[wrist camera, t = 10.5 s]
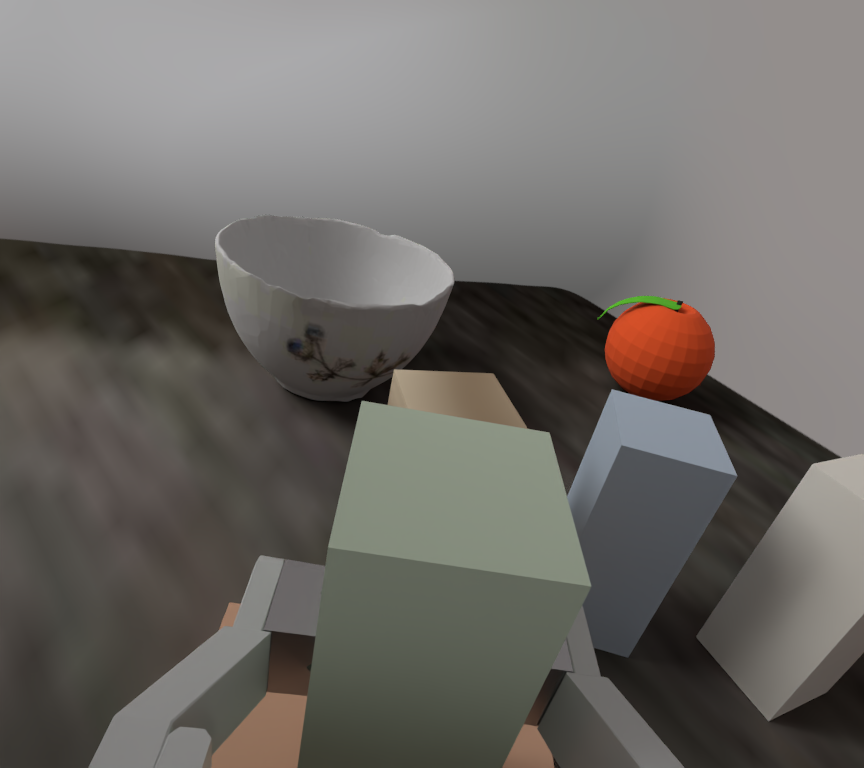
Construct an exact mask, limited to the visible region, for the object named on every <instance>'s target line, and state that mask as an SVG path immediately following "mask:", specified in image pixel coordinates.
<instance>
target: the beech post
mask: <svg viewBox="0 0 864 768" xmlns="http://www.w3.org/2000/svg"><path fill="white" fill-rule="evenodd" d="M388 405H390V406H396V407H402V408H408V409H414V410H419V411H425V412H431V413H437V414H443V415H449V416H455V417H461V418H466V419H472V420H478V421H484V422H490V423H496V424H502V425H508V426H513V427H519V428H525V429H528V428H527V427H526V425H525V424H524V422H523V420H522V419H521V417H520V415H519V414H518V412H517V411H516V409H515V407H514V406H513V404H512V403H511V401H510V399H509V398H508V396H507V395H506V393H505V391H504V390H503V388H502V387H501V385H500V383H499V382H498V380H497V379H496V377H495V375H494V374H493V373H469V372H445V371H421V370H397V369H394V372H393V378H392V383H391V389H390V394H389V400H388Z"/></svg>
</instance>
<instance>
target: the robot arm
mask: <svg viewBox="0 0 864 768" xmlns="http://www.w3.org/2000/svg"><path fill="white" fill-rule="evenodd" d="M324 573H325V566H322V565H317V564H311V563H305V562H299V561H293V560H288V559H281V558H274V557H268V556H262V555H260V557H259V558H258V560H257V561H256V563H255V566H254V569H253V572H252V574H251V577H250V580H249V583H248V585H247V588H246V591H245V594H244V596H243V599H242V602H241V605H240V607H239V610H238V613H237V616H236V618H235V621H234V624H233V627H231V626H224V627H223V628H221V629H220V630H219V631H218V632H217V633H215V634H214V635H213V636H212V637H210V638H209V639H208V640H207V641H205V642H204V643H203V644H202V645H201V646H199V647H198V648H197V649H196V650H194V651H193V652H192V653H191V654H189V655H188V656H187V657H186V658H185V659H183V660H182V661H181V662H180V663H178V664H177V665H176V666H175V667H173V668H172V669H171V670H170V671H168V672H167V673H166V674H165V675H164V676H162V677H161V678H160V679H159V680H157V681H156V682H155V683H154V684H152V685H151V686H150V687H149V688H148V689H146V690H145V691H144V692H143V693H141V694H140V695H139V696H138V697H136V698H135V699H134V700H133V701H132V702H130V703H129V704H128V705H127V706H125V707H124V708H123V709H122V710H120V711H119V712H118V713H117V714H116V715H114V717H113V719H112V721H111V723H110V725H109V727H108V729H107V731H106V733H105V735H104V737H103V739H102V741H101V743H100V745H99V747H98V749H97V751H96V753H95V755H94V757H93V759H92V761H91V763H90V765H89V767H88V768H212V755H213V754H214V753H215V752H216V750H217V749H218V748H219V747H220V746H221V745H222V744H223V743H224V741H225V740H226V739H227V738H228V737H229V736H230V735H231V734H232V733H233V731H234V730H235V729H236V728H237V727H238V726H239V725H240V724H241V722H242V721H243V720H244V719H245V718H246V717H247V716H248V715H249V714H250V712H251V711H252V710H253V709H254V708H255V707H256V706H257V705H258V703H259V702H260V701H261V700H262V699H263V698H264V697H265V696H266V692H271V693H281V694H291V695H302V696H307V695H308V687H309V680H310V673H311V666H312V659H313V652H314V644H315V637H316V630H317V623H318V616H319V609H320V601H321V594H322V587H323V580H324ZM524 724H525V725H532V726H538V728H537V729H538V731H539V733H540V734H541V736H542V738H543V739H544V741H545V743H546V744H547V746H548V748H549V750H550V751H551V753H552V755H553V756H554V758H555V760H556V761H557V763H558V765H559V767H560V768H684V767H683V765H682V764H681V763H680V762H679V761H678V759H677V758H676V757H675V756H674V755H673V754H672V752H671V751H670V750H669V749H668V748H667V747H666V745H665V744H664V743H663V742H662V741H661V739H660V738H659V737H658V736H657V735H656V734H655V732H654V731H653V730H652V729H651V728H650V727H649V725H648V724H647V723H646V722H645V721H644V719H643V718H642V717H641V716H640V715H639V714H638V712H637V711H636V710H635V709H634V708H633V707H632V705H631V704H630V703H629V702H628V701H627V699H626V698H625V697H624V696H623V695H622V694H621V692H620V691H619V690H618V689H617V688H616V687H615V685H614V684H613V683H612V682H611V681H610V679H609V678H606V677H601V675H600V671H599V667H598V663H597V659H596V655H595V651H594V648H593V644H592V640H591V636H590V632H589V628H588V624H587V620H586V616H585V613H584V609H583V606H582V607H581V609H580V611H579V613H578V615H577V617H576V619H575V621H574V623H573V625H572V627H571V629H570V631H569V633H568V635H567V637H566V639H565V641H564V643H563V645H562V647H561V649H560V651H559V653H558V655H557V657H556V659H555V661H554V663H553V665H552V667H551V670H550V672H549V674H548V676H547V678H546V680H545V682H544V684H543V686H542V688H541V690H540V692H539V694H538V696H537V698H536V700H535V702H534V704H533V706H532V708H531V710H530V712H529V714H528V716H527V718H526V720H525V722H524Z"/></svg>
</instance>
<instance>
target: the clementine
mask: <svg viewBox="0 0 864 768" xmlns="http://www.w3.org/2000/svg"><path fill="white" fill-rule="evenodd" d="M636 302H640V303H638V304H636V305H634V306H633V307H631V308H629V309H627V310H626V311H624V312H623V313H622V314H621V315H620V316H619V317H618V318H617V319H616V320H615V322H614V324H613V325H612V327H611V329H610V331H609V333H608V337H607V342H606V346H605V357H606V362H607V365H608V368H609V370H610V373H611V375H612V377H613V378H614V379H615V380H616V382H617V383H618V384H619V385H620V386H621V387H622V388H623V389H624V390H625V391H627V392H628V393H630V394H632V395H636V396H639V397H643V398H647V399H651V400H655V401H664V400H673V399H675V398H678V397H680V396H683V395H685V394H687V393H690V392H691V391H692V390H693V389H695V388H696V387H697V386H699V385H700V384H701V382H702V381H703V379H704V378H705V376H706V375H707V374H708V372H709V371H710V369H711V366H712V363H713V360H714V357H715V356H714V355H715V354H714V353H715V343H714V338H713V335H712V332H711V328H710V326H709V325H708V324H707V322H706V321H705V320H704V318H703V317H702V315H701V314H700V313H699V312H698V311H697V310H696V309H694V308H692V307H691V306H689V305H686V304H684V303H683V301H675V300H671V299H665V298H660V297H653V296H638V297H633V298H629V299H625V300H622V301H619V302H617V303H616V304H614V305H612V306H611V307H609V308H607V310H606V311H605V312H604V313H603V314H602V315H604V314H605V313H606V312H607V311H608V310H610V309H612V308H614V307H616V306H619V305H622V304H628V303H636ZM602 315H601V316H602ZM601 316H600V317H601ZM600 317H599V318H600ZM599 318H598V319H599ZM598 319H597V320H598Z"/></svg>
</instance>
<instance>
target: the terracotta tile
mask: <svg viewBox="0 0 864 768" xmlns="http://www.w3.org/2000/svg"><path fill="white" fill-rule="evenodd" d="M240 605H241V604H238V603H230V602H229V605H228V608H227V610H226V613H225V616H224V618H223V621H222V623H221V626H220V629H221V628H223V627H224V626H231V627H233V624H234V621H235V618H236V616H237V613H238V610H239V607H240ZM220 629H219V630H220ZM306 702H307V696H302V695H291V694H281V693H271V692H266V696H265V697H264V698H263V699H262V700H261V701H260V702H259V703H258V705H257V706H256V707H255V708H254V709H253V710H252V711H251V712H250V714H249V715H248V716H247V717H246V718H245V719H244V720H243V721H242V722H241V724H240V725H239V726H238V727H237V728H236V729H235V730H234V731H233V733H232V734H231V735H230V736H229V737H228V738H227V739H226V740H225V741H224V743H223V744H222V745H221V746H220V747H219V748H218V749H217V750H216V752H215V753H214V754H213V755H212V768H297V766H298V759H299V752H300V745H301V738H302V730H303V723H304V716H305V709H306ZM537 728H538V726H532V725H525V724H523V726H522V728H521V730H520V732H519V734H518V736H517V738H516V740H515V742H514V745H513V747H512V749H511V751H510V753H509V755H508V757H507V759H506V761H505V763H504V765H503V767H502V768H554V762H553V756H552V753H551V751H550V750H549V748H548V746H547V744H546V743H545V741H544V739H543V738H542V736H541V734H540V733H539V731H538V729H537Z"/></svg>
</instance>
